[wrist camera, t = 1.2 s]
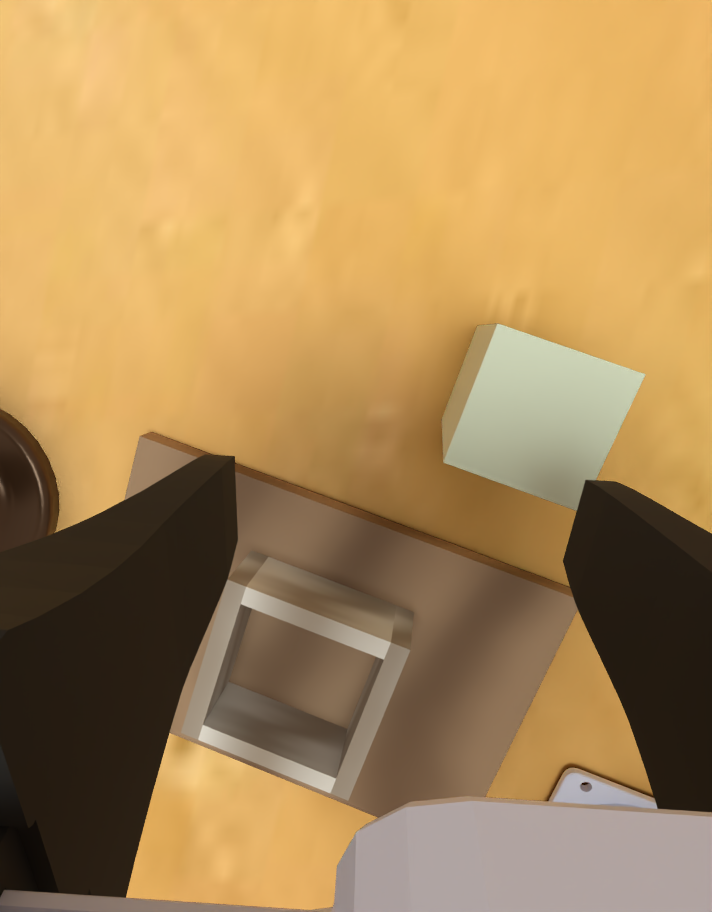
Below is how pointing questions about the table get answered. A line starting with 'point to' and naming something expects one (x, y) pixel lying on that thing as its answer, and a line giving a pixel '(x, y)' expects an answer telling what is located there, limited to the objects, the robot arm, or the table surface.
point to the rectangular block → (534, 413)
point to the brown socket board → (360, 648)
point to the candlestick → (24, 487)
